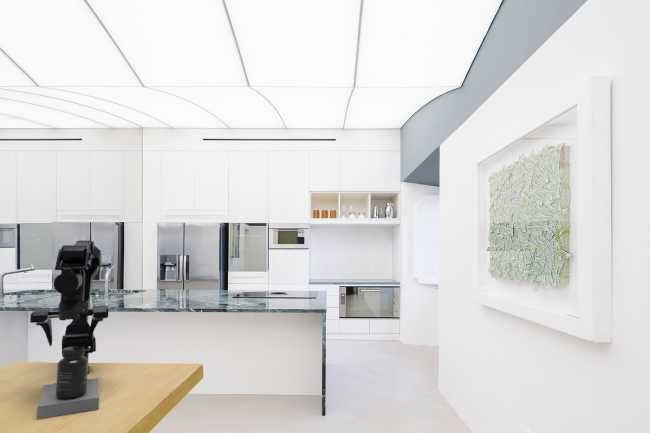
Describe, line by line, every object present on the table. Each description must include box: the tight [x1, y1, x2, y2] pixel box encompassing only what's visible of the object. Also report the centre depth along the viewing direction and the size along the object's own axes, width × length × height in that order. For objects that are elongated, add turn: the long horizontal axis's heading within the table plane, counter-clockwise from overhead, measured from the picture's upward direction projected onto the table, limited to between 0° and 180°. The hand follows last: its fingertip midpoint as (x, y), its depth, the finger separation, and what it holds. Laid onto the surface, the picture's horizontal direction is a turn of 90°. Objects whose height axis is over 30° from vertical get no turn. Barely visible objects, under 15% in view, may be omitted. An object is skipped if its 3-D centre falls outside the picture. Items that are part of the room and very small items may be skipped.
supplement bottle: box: [55, 346, 89, 399], centre depth 107 cm, size 7×7×12 cm
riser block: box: [36, 377, 100, 420], centre depth 109 cm, size 16×13×3 cm
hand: (70, 344), depth 117 cm, fingers open, 9 cm apart
